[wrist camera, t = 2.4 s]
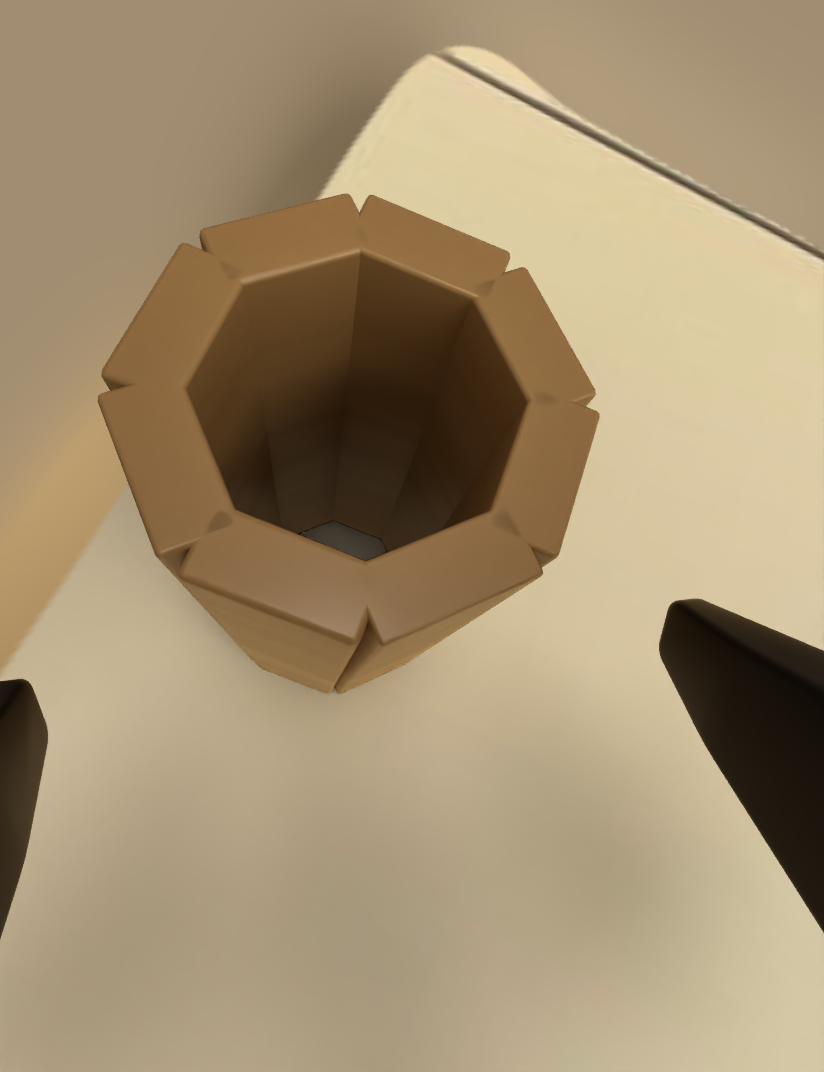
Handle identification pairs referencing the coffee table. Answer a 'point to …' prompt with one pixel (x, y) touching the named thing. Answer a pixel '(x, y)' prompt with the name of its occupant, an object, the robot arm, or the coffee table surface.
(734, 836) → the coffee table surface
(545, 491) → the tall ring
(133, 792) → the coffee table surface
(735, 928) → the coffee table surface
